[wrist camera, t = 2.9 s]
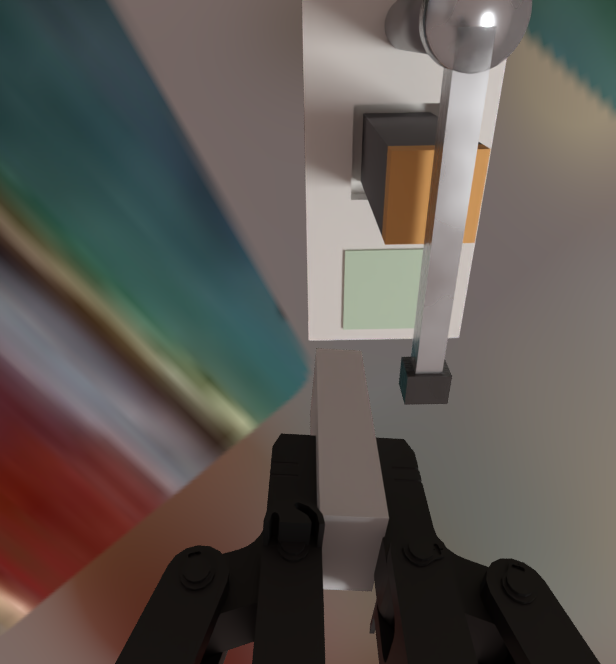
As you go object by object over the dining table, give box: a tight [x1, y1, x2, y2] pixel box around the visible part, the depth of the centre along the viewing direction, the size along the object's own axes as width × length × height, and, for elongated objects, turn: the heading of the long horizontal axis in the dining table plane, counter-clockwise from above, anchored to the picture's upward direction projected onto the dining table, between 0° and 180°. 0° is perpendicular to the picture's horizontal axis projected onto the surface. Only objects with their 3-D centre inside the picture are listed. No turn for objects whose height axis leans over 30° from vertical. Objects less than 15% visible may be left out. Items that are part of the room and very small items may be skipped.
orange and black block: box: [361, 112, 491, 245], centre depth 25 cm, size 4×4×11 cm
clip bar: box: [399, 0, 532, 404], centre depth 19 cm, size 17×3×2 cm, turn 1°
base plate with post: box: [302, 0, 507, 340], centre depth 27 cm, size 21×11×13 cm, turn 1°
